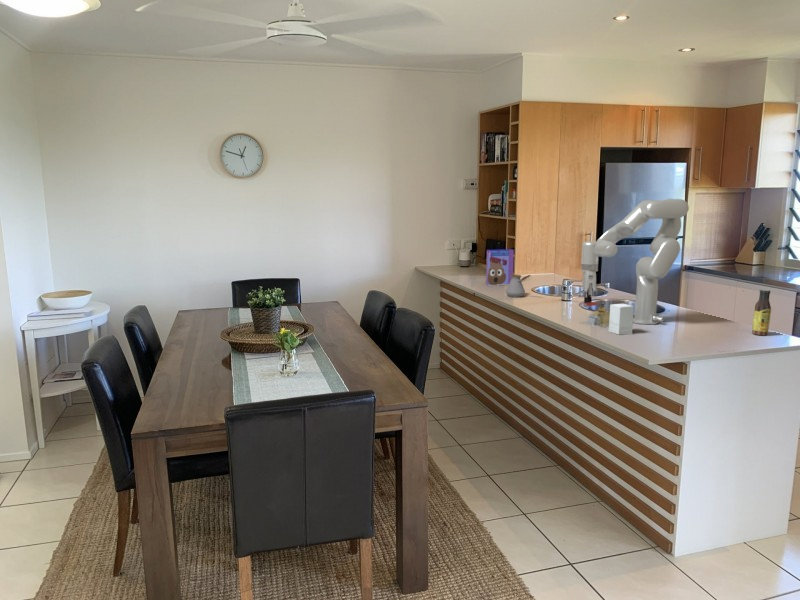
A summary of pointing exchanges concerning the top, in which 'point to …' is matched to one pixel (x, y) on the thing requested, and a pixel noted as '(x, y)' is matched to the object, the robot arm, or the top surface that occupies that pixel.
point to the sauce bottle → (762, 314)
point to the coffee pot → (516, 286)
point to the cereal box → (499, 266)
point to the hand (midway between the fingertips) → (587, 305)
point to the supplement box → (621, 319)
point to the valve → (598, 318)
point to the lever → (595, 303)
